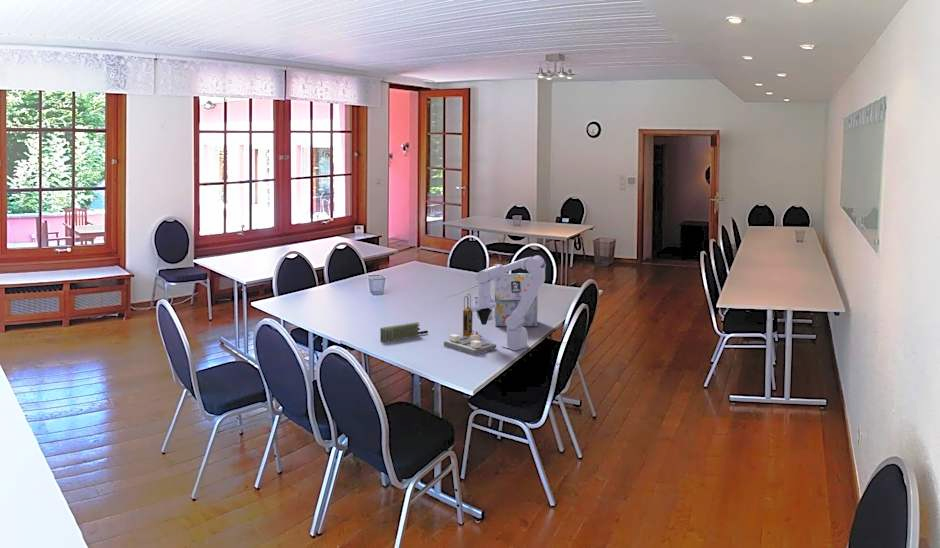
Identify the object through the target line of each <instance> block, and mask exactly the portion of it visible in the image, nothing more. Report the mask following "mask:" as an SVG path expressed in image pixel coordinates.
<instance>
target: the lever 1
mask: <svg viewBox="0 0 940 548" xmlns="http://www.w3.org/2000/svg"><path fill="white" fill-rule="evenodd" d="M460 336H461V335H459V334H456V333H453V334H449V340H450V341H453V342H457V341H460Z"/></svg>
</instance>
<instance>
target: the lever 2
mask: <svg viewBox="0 0 940 548" xmlns="http://www.w3.org/2000/svg"><path fill="white" fill-rule="evenodd" d="M471 347H473V348H480V347H481V342H480V341H477V340H474V341H471Z"/></svg>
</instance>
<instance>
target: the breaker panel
mask: <svg viewBox="0 0 940 548" xmlns="http://www.w3.org/2000/svg"><path fill="white" fill-rule="evenodd" d="M480 342H481V347H480V348H473V347H471V341H470V336H461V337H460V341H457V342H453V341H450V339H449V340H445V341H443V346H444V347H446V346H448V347H447V348H449V347H451V348H450V349H453V348H454V350H456V349H457V350H456V351H459V350H461V351H460V352H462V351H464V352H463V353H466V352H467V353H466V354H469V353H471V354H470V355H472V354H477V355H479V354H478V353H480V354H482V353H481V352H484V353H486V352H485V351H487V352H490V351H489V350H491V351H493V350H492V349H494V350H496V349H497V344H496V343H495V344H494V343H491V342H488V341H485V340H481V339H480ZM495 348H496V349H495Z"/></svg>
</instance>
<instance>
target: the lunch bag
mask: <svg viewBox="0 0 940 548" xmlns="http://www.w3.org/2000/svg"><path fill="white" fill-rule="evenodd" d="M493 282H494V295H493V296H494V297H493V302H494V303H496V307H494V319H495V320H494V321H495V327H507V326H506V324H505V321H506V319H507V318H508V317H509V316H511V314H512V313H513V312H514V310H515V309H516V308H517V306H518V304H519V302H520V301H521V299H522V297H523V296H524V294H525V292H526V290H527V289H528V287H529V285H530V284H531V282H532V277H531V275H530V274H529V273H525V272H524V273H522V272H518V273H506V274H505V276H503V277H500V278H497V279H494V280H493ZM538 296H539V292H538V293H537V295H536V296H535V298H534V300H533V302H532V303H531V305H530V307H529V308H528V310H527V312H526V315H525V320H524V323H523V324H522V326H523V327H538V311H539V310H538V309H539V308H538V307H539V306H538V301H539V299H538V298H539V297H538Z"/></svg>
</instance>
